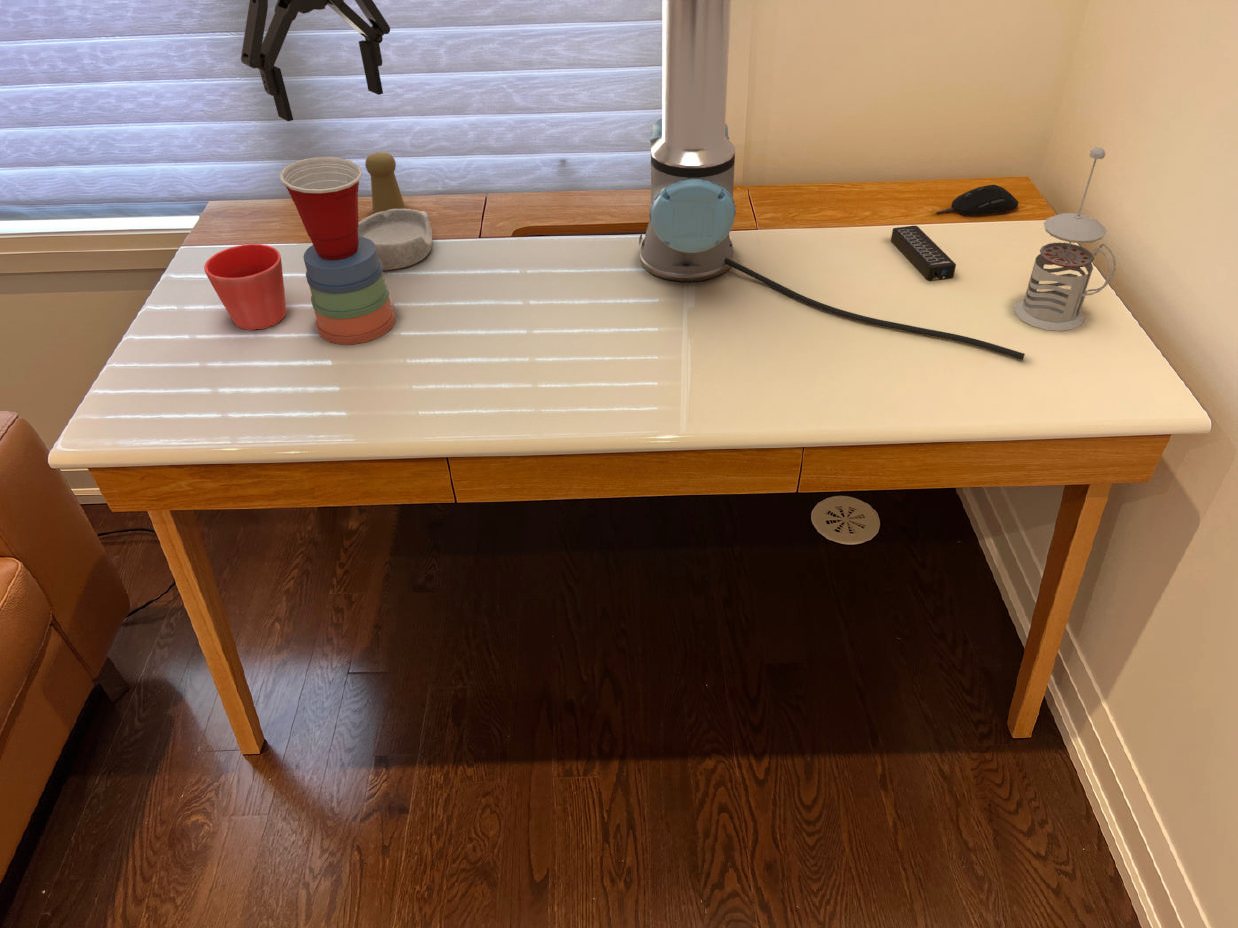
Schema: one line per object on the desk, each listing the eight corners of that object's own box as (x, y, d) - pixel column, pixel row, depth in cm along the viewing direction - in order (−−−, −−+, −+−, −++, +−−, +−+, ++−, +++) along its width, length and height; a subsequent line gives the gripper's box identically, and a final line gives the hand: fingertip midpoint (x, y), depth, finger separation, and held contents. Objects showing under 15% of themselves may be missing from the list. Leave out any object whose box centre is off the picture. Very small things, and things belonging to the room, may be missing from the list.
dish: (429, 229, 167) (425, 202, 164) (443, 264, 157) (439, 236, 154) (346, 243, 164) (340, 216, 161) (355, 279, 154) (349, 251, 151)
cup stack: (410, 324, 143) (396, 252, 135) (341, 353, 137) (322, 279, 129) (371, 296, 149) (355, 225, 142) (303, 323, 144) (284, 251, 136)
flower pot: (258, 343, 140) (239, 284, 133) (208, 324, 144) (188, 266, 138) (311, 311, 146) (295, 253, 140) (262, 293, 151) (245, 237, 145)
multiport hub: (914, 237, 160) (916, 224, 159) (954, 278, 149) (957, 264, 148) (889, 240, 160) (891, 227, 158) (928, 281, 149) (930, 268, 147)
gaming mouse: (928, 206, 169) (933, 185, 167) (1005, 197, 171) (1010, 176, 169) (944, 221, 164) (949, 199, 162) (1023, 212, 166) (1029, 190, 164)
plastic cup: (359, 272, 131) (341, 189, 123) (287, 266, 132) (264, 184, 125) (389, 236, 139) (373, 156, 131) (321, 231, 140) (301, 152, 133)
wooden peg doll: (403, 220, 170) (392, 161, 163) (370, 221, 170) (357, 162, 163) (409, 206, 175) (399, 147, 168) (377, 206, 175) (365, 148, 168)
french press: (1033, 290, 146) (1079, 128, 130) (1108, 316, 139) (1166, 150, 123) (1001, 314, 141) (1045, 149, 125) (1077, 343, 134) (1134, 173, 118)
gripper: (366, -93, 123) (396, 76, 136) (179, -59, 110) (232, 123, 124) (397, -86, 118) (425, 88, 132) (206, -50, 106) (258, 137, 120)
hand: (332, 105), depth 128 cm, fingers open, 13 cm apart
